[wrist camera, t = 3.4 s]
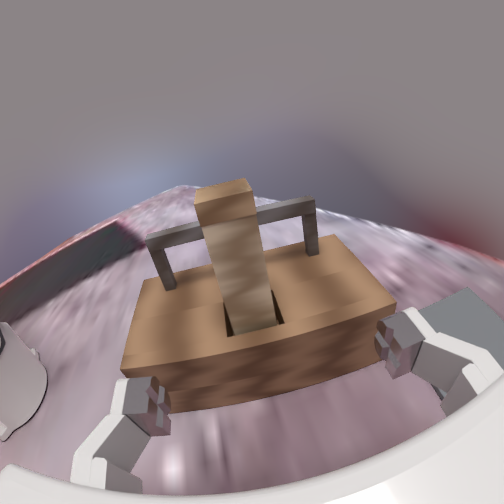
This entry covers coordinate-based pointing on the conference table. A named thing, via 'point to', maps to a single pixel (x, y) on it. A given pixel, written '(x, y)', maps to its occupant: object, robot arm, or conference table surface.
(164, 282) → the toolbox
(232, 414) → the conference table surface
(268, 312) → the wooden key
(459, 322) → the slate mat
